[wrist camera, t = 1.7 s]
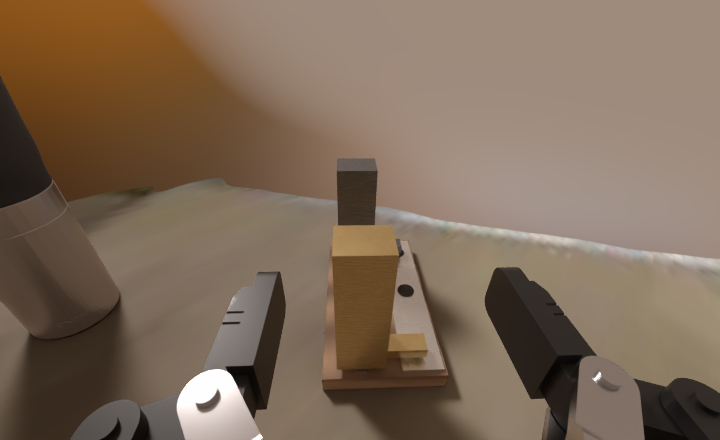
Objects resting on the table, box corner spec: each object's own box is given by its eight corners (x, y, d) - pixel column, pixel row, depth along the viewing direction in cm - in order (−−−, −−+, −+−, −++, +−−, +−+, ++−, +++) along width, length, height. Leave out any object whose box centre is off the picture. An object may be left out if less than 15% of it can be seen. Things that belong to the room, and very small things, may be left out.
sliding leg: (429, 368, 31) (458, 254, 23) (336, 371, 31) (332, 256, 22) (420, 334, 34) (443, 224, 26) (337, 336, 34) (333, 225, 26)
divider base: (445, 385, 32) (484, 266, 23) (323, 389, 31) (311, 269, 22) (407, 249, 51) (420, 154, 42) (331, 250, 51) (326, 154, 41)
